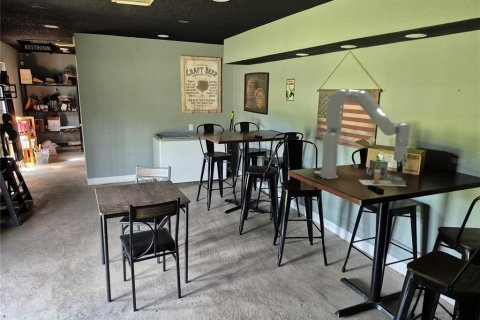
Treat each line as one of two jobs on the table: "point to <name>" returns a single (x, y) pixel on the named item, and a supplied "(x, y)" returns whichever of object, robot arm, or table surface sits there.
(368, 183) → the colouring board
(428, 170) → the table surface
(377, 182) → the rust marker
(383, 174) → the chalk box
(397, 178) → the button
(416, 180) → the table surface
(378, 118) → the robot arm
